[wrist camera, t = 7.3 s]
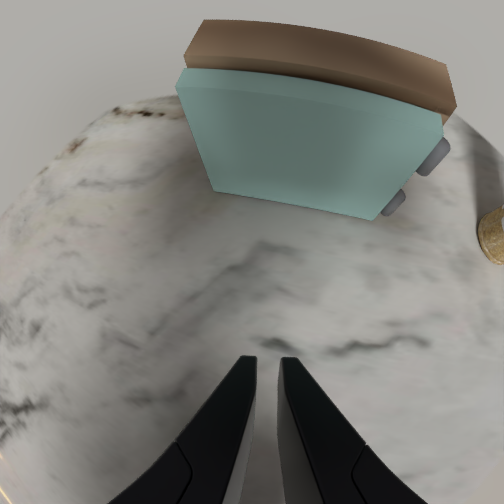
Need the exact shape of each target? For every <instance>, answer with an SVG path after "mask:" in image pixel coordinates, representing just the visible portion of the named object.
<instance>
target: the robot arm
mask: <svg viewBox="0 0 504 504" xmlns="http://www.w3.org/2000/svg"><path fill="white" fill-rule="evenodd" d="M256 384H257V357H256V356H246V355H242V356H240V358H239V359H238V360H237V362H236V363H235V364H234V365H233V367H232V368H231V369H230V371H229V372H228V373H227V375H226V376H225V377H224V379H223V380H222V381H221V382H220V384H219V385H218V386H217V388H216V389H215V390H214V391H213V393H212V394H211V395H210V396H209V398H208V399H207V400H206V402H205V403H204V404H203V405H202V407H201V408H200V409H199V410H198V412H197V413H196V414H195V415H194V417H193V418H192V419H191V420H190V421H189V423H188V424H187V425H186V426H185V428H184V429H183V430H182V431H181V433H180V434H179V435H178V436H177V437H176V439H175V441H173V442H172V443H171V444H170V446H169V447H168V448H167V449H166V450H165V452H164V453H163V454H162V455H161V456H160V457H159V458H158V459H157V460H156V461H155V462H154V464H153V465H152V466H151V467H150V468H149V469H148V470H146V471H145V472H144V473H143V474H142V475H141V476H140V477H139V478H138V479H137V480H136V481H134V482H133V483H132V484H131V485H130V486H128V487H127V488H126V489H125V490H124V491H122V492H121V493H120V494H119V495H117V496H116V497H115V498H114V499H113V500H111V501H110V502H109V503H108V504H239V502H240V497H241V493H242V488H243V483H244V478H245V474H246V469H247V464H248V459H249V454H250V449H251V444H252V438H253V430H254V415H255V400H256ZM277 436H278V446H279V454H280V462H281V469H282V477H283V485H284V493H285V501H286V504H428V503H426V502H425V501H424V500H423V499H422V498H420V497H419V496H418V495H417V494H416V493H415V492H414V491H412V490H411V489H410V488H409V487H408V486H407V485H406V484H404V483H403V482H402V481H401V480H400V479H399V478H398V477H397V476H396V475H395V474H394V473H393V472H392V471H391V470H390V469H389V468H388V467H387V466H386V465H385V464H384V463H383V462H382V461H381V460H380V458H379V457H378V456H377V455H376V454H375V453H374V452H373V450H372V449H371V448H370V447H369V445H366V442H365V441H364V440H363V438H362V437H361V436H360V435H359V434H358V432H357V431H356V430H355V429H354V428H353V426H352V425H351V424H350V423H349V421H348V420H347V419H346V418H345V417H344V415H343V414H342V413H341V412H340V410H339V409H338V408H337V407H336V406H335V404H334V403H333V402H332V401H331V399H330V398H329V397H328V396H327V394H326V393H325V392H324V391H323V389H322V388H321V387H320V386H319V384H318V383H317V382H316V381H315V379H314V378H313V377H312V376H311V374H310V373H309V372H308V371H307V369H306V368H305V367H304V366H303V364H302V363H301V362H300V361H299V359H298V358H296V357H282V358H281V360H280V368H279V376H278V405H277Z"/></svg>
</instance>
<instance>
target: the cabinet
mask: <svg viewBox="0 0 504 504" xmlns="http://www.w3.org/2000/svg"><path fill="white" fill-rule="evenodd" d="M184 58H185V62H186V65H187V68H199V69H221V70H235V71H247V72H257V73H266V74H274V75H282V76H289V77H296V78H302V79H308V80H314V81H319V82H324V83H329V84H334V85H339V86H344V87H348V88H353V89H357V90H361V91H365V92H369V93H373V94H377V95H381V96H384V97H388V98H391V99H395V100H398V101H402V102H405V103H408V104H411V105H414V106H417V107H421V108H424V109H426V110H429V111H432V112H435V113H438V114H441V119H442V125H444V124H445V122H446V121H447V120H448V118H449V117H450V116H451V114H452V113H453V111H454V110H455V109H456V107H457V105H456V101H455V96H454V92H453V88H452V84H451V81H450V77H449V73H448V70H447V67H446V64H444V63H441V62H438V61H436V60H433V59H431V58H428V57H425V56H422V55H419V54H416V53H413V52H410V51H407V50H404V49H401V48H398V47H395V46H391V45H388V44H384V43H381V42H377V41H373V40H369V39H365V38H361V37H357V36H353V35H348V34H344V33H339V32H333V31H328V30H323V29H316V28H311V27H304V26H297V25H290V24H281V23H271V22H259V21H244V20H204V21H203V22H202V24H201V26H200V27H199V29H198V31H197V33H196V34H195V36H194V38H193V40H192V41H191V43H190V45H189V47H188V48H187V50H186V52H185V54H184Z"/></svg>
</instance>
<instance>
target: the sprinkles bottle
mask: <svg viewBox="0 0 504 504" xmlns="http://www.w3.org/2000/svg"><path fill="white" fill-rule="evenodd" d="M478 236H479V241H480V245H481V248H482V250H483V252H484V254H485V255H486V256H487V257H488V258H489V260H490V261H492V262H493V263H495V264H498V265H502V264H504V205H503V206H501V207H499V208H498V209H496V210H494V211H493V212H490V213H487V214H486V215H485V216H484V217H483V218H482V219H481V221H480V224H479V227H478Z"/></svg>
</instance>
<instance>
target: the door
mask: <svg viewBox="0 0 504 504" xmlns="http://www.w3.org/2000/svg"><path fill="white" fill-rule="evenodd" d="M175 87H176V90H177V93H178V96H179V99H180V101H181V104H182V107H183V110H184V112H185V115H186V118H187V121H188V123H189V126H190V129H191V132H192V134H193V137H194V140H195V142H196V145H197V148H198V151H199V153H200V156H201V159H202V161H203V164H204V167H205V169H206V172H207V175H208V177H209V180H210V183H211V185H212V188H213V191H216V192H223V193H229V194H235V195H241V196H247V197H253V198H259V199H265V200H270V201H276V202H282V203H287V204H292V205H298V206H303V207H308V208H313V209H319V210H324V211H329V212H333V213H338V214H343V215H348V216H353V217H357V218H362V219H367V220H371V221H373V220H374V218H375V217H376V216H377V215H378V214H379V213H380V212H381V214H383V215H384V216H389V215H391V214H392V213H393V212H394V211H395V210H396V209H397V208H398V207H399V206H400V204H401V203H402V202H403V201H404V200H405V197H406V196H405V193H404V191H403V190H402V189H401V187H402V186H403V185H404V184H405V183H406V182H407V180H408V179H409V178H410V177H411V176H412V174H413V173H414V172H415V171H416V172H417V173H418V174H419V175H421V176H427V175H429V174H430V173H431V171H432V170H433V169H434V168H435V167H436V166H437V165H438V164H439V163H440V161H441V160H442V159H443V158H444V157H445V156H446V155H447V154H448V152H449V151H450V144H449V142H448V141H447V140H446V139H445V138H444V137H443V136H444V132H443V125H442V119H441V114H438V113H435V112H432V111H429V110H426V109H424V108H421V107H417V106H414V105H411V104H408V103H405V102H402V101H398V100H395V99H391V98H388V97H384V96H381V95H377V94H373V93H369V92H365V91H361V90H357V89H353V88H348V87H344V86H339V85H334V84H329V83H324V82H319V81H314V80H308V79H302V78H296V77H289V76H282V75H274V74H266V73H257V72H247V71H235V70H221V69H199V68H184V70H183V72H182V74H181V76H180V78H179V80H178V82H177V84H176V86H175Z"/></svg>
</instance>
